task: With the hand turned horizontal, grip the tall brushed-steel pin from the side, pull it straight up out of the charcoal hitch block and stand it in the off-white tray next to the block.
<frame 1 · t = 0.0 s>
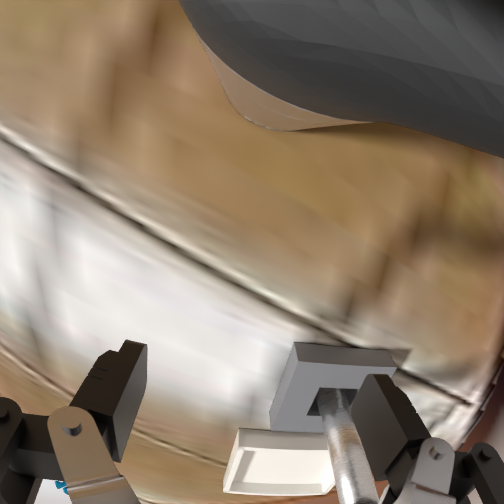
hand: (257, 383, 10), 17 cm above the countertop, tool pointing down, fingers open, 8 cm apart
tray: (287, 460, 39), on the countertop
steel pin: (344, 446, 24), in the hitch block
hitch block: (327, 384, 33), on the countertop
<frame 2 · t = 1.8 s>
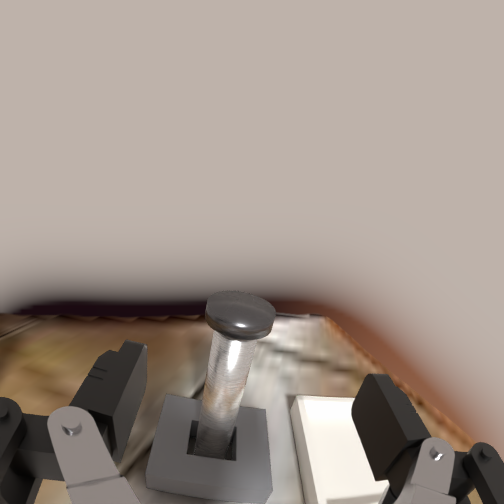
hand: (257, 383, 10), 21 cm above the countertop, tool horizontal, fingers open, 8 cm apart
tray: (359, 461, 28), on the countertop
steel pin: (221, 398, 24), in the hitch block
hitch block: (209, 456, 27), on the countertop
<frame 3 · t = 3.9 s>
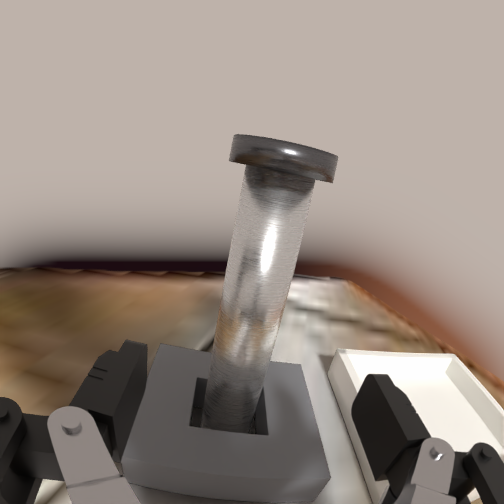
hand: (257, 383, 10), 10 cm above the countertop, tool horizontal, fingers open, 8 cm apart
tray: (425, 432, 20), on the countertop
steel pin: (248, 324, 16), in the hitch block
hitch block: (223, 433, 19), on the countertop
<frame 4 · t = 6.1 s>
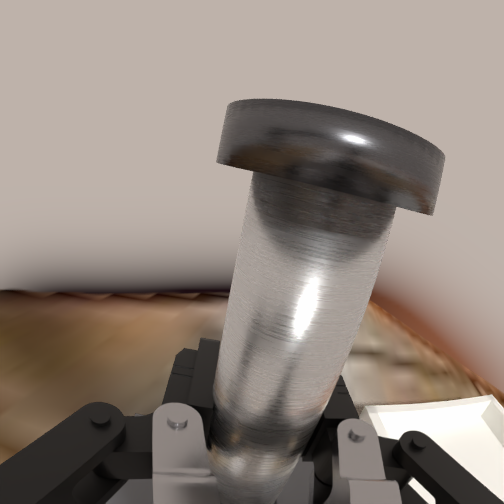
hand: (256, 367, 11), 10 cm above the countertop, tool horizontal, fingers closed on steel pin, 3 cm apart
tray: (462, 497, 13), on the countertop
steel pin: (255, 438, 9), in the hitch block, touching gripper
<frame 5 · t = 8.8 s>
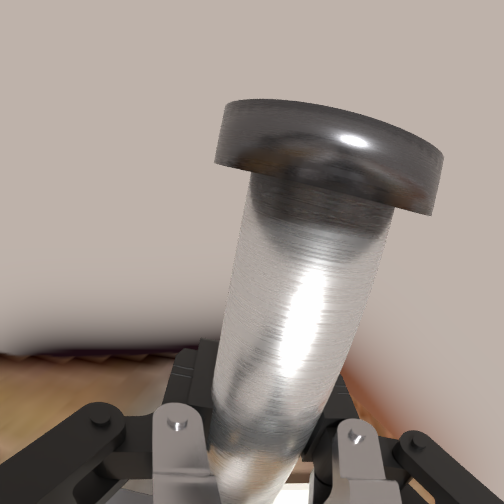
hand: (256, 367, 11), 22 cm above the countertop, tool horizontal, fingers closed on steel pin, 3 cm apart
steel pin: (253, 438, 9), point 21 cm above the countertop, touching gripper
when the fingers open (12 cm above the countertop, at t = 11.7 s): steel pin stays where it is, resting on tray.
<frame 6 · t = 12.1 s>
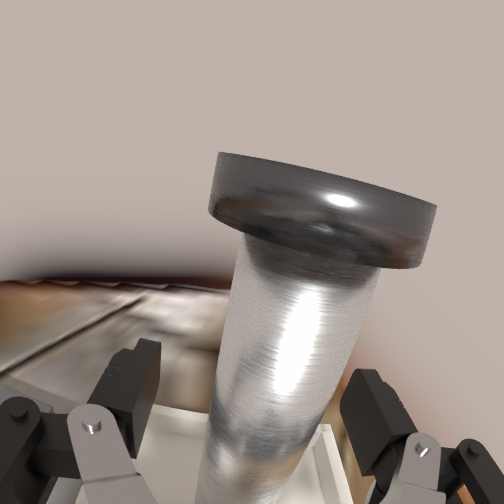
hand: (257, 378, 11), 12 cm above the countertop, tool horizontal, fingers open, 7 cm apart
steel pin: (249, 456, 9), in the tray, point 10 cm above the countertop
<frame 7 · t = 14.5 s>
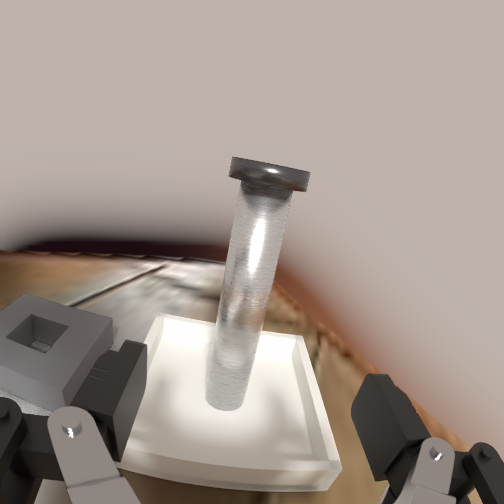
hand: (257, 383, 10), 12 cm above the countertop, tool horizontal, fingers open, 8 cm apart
tray: (222, 404, 24), on the countertop
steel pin: (244, 300, 21), in the tray, point 10 cm above the countertop
hitch block: (42, 358, 23), on the countertop
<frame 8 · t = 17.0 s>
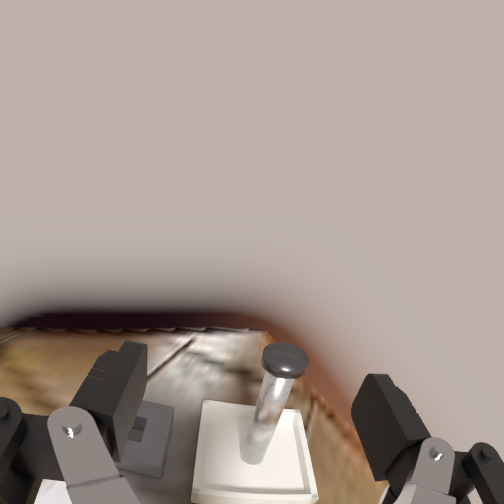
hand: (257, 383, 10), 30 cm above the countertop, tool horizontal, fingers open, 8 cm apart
tray: (250, 459, 37), on the countertop
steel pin: (266, 414, 34), in the tray, point 10 cm above the countertop
hitch block: (128, 438, 35), on the countertop
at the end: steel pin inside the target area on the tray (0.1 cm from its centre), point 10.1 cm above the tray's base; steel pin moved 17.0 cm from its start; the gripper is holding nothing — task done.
